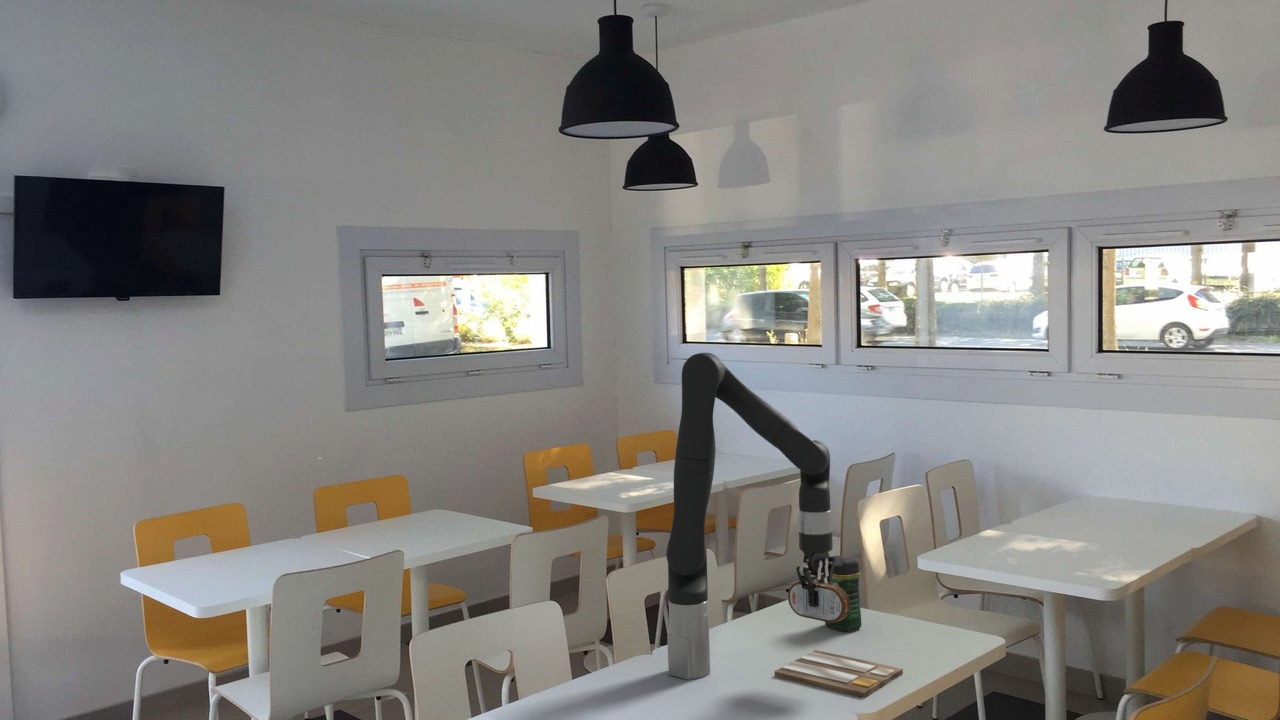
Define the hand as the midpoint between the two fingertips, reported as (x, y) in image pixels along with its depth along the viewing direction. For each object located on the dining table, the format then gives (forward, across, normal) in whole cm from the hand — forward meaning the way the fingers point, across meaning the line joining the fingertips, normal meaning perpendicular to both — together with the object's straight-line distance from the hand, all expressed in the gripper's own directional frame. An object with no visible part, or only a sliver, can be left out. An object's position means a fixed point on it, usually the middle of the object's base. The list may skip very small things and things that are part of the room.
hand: (817, 604), depth 233 cm
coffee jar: (+17, +36, +14) cm, 42 cm away
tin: (+4, 0, 0) cm, 4 cm away
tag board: (+17, +4, -3) cm, 18 cm away
